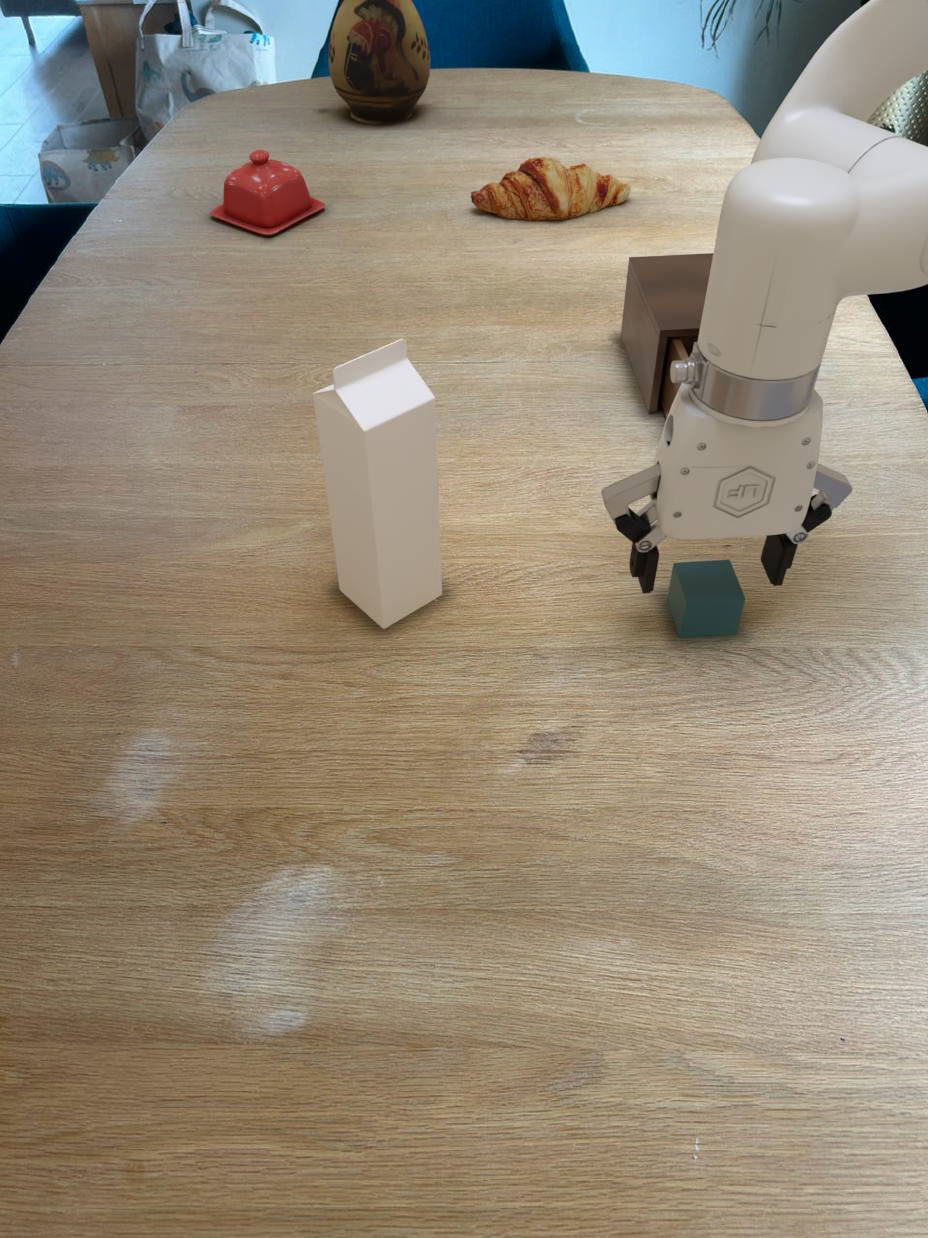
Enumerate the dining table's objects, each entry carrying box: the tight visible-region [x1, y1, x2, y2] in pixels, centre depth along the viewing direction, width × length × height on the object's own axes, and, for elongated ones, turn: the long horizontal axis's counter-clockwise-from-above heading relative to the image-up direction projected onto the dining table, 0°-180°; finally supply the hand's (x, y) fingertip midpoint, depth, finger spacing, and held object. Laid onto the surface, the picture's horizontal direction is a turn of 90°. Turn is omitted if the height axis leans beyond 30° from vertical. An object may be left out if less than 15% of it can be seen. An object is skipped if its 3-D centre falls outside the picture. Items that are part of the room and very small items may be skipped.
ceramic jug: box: [328, 0, 431, 126], centre depth 146 cm, size 17×15×30 cm
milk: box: [312, 338, 443, 630], centre depth 73 cm, size 6×6×22 cm
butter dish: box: [209, 149, 326, 236], centre depth 128 cm, size 12×12×8 cm
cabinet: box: [620, 252, 714, 415], centre depth 100 cm, size 15×13×10 cm
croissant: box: [470, 156, 632, 222], centre depth 130 cm, size 21×10×8 cm, turn 100°
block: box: [666, 559, 746, 640], centre depth 77 cm, size 4×4×4 cm
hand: (707, 576), depth 75 cm, fingers open, 9 cm apart
